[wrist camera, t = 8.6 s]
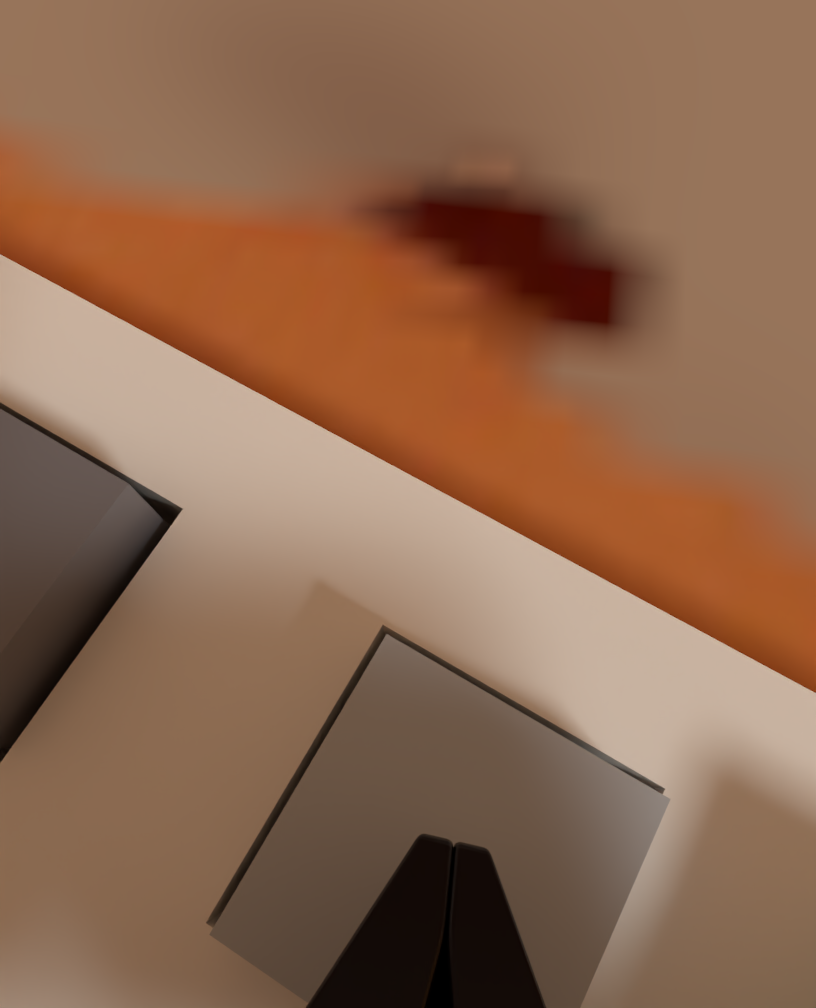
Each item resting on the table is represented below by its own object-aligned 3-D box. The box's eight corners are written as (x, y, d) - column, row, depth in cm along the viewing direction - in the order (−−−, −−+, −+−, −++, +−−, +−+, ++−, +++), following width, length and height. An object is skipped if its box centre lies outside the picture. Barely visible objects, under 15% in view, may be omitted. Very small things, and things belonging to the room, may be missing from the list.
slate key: (486, 1037, 13) (518, 1148, 9) (265, 889, 13) (208, 935, 10) (599, 792, 14) (670, 799, 10) (392, 670, 15) (387, 633, 11)
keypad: (1024, 1563, 13) (1494, 2165, 7) (-209, 691, 18) (-494, 653, 12) (1150, 980, 16) (1560, 1094, 10) (60, 368, 21) (-71, 216, 15)
